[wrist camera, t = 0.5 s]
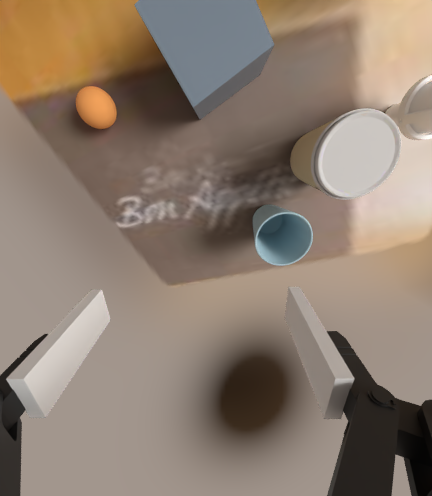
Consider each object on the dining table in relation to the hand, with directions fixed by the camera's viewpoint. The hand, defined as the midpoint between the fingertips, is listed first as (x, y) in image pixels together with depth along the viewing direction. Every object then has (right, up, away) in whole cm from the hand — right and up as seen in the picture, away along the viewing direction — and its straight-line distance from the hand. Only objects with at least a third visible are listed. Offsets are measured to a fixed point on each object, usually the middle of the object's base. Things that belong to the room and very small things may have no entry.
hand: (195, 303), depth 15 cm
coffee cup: (+17, +18, +19) cm, 32 cm away
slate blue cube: (+1, +30, +14) cm, 33 cm away
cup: (+11, +9, +23) cm, 27 cm away
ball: (-15, +23, +15) cm, 32 cm away
